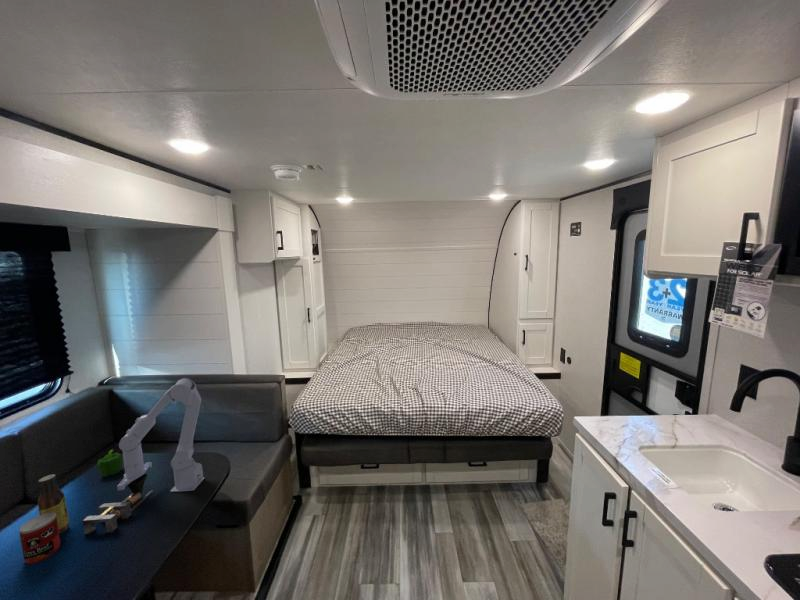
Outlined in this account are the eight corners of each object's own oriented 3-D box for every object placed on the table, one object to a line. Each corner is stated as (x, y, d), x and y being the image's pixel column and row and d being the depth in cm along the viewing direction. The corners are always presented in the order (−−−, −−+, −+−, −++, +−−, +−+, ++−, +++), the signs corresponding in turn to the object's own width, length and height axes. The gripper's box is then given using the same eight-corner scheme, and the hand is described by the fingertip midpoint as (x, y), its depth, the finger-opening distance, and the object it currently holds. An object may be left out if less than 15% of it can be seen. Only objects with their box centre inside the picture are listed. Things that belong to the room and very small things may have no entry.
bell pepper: (112, 479, 139) (109, 457, 138) (94, 479, 139) (91, 457, 138) (129, 467, 147) (126, 446, 146) (111, 467, 147) (109, 447, 146)
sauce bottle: (73, 527, 112) (65, 473, 110) (49, 541, 106) (40, 485, 104) (62, 523, 114) (54, 470, 112) (38, 536, 108) (29, 481, 107)
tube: (131, 498, 124) (133, 490, 124) (140, 500, 125) (142, 492, 124) (109, 518, 115) (111, 509, 114) (118, 520, 115) (120, 511, 114)
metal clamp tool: (155, 492, 129) (154, 480, 128) (112, 532, 109) (110, 518, 108) (131, 493, 128) (130, 482, 128) (84, 534, 108) (82, 520, 108)
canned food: (18, 569, 96) (12, 535, 95) (33, 549, 103) (28, 517, 102) (53, 558, 100) (48, 525, 99) (65, 539, 107) (60, 508, 106)
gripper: (138, 452, 132) (142, 483, 133) (107, 474, 117) (111, 509, 118) (155, 451, 132) (159, 482, 133) (126, 473, 117) (131, 508, 119)
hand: (138, 495), depth 126 cm, fingers closed
